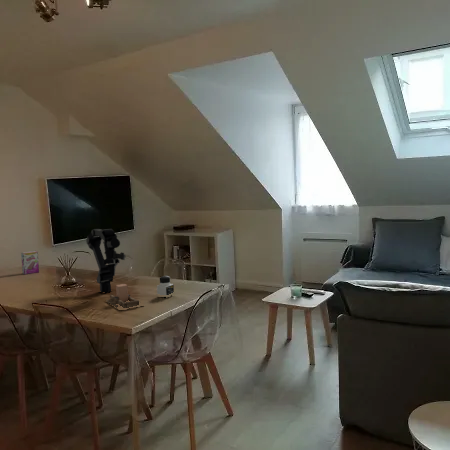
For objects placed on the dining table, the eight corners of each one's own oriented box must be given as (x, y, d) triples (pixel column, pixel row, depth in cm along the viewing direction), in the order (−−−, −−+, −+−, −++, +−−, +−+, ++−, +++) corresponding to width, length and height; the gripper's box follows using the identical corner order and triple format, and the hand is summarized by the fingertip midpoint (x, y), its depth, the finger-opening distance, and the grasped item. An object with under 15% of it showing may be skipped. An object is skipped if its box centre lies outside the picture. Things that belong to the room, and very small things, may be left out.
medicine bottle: (166, 298, 264) (165, 278, 262) (157, 297, 267) (156, 277, 266) (174, 295, 270) (173, 275, 268) (164, 294, 274) (163, 274, 272)
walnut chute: (105, 301, 262) (105, 294, 262) (128, 297, 270) (128, 290, 269) (119, 311, 242) (119, 304, 242) (144, 306, 250) (144, 299, 249)
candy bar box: (24, 274, 345) (22, 253, 343) (22, 273, 349) (20, 252, 347) (39, 272, 352) (37, 251, 350) (37, 271, 356) (35, 250, 354)
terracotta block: (116, 300, 259) (115, 285, 258) (125, 299, 262) (124, 283, 261) (119, 302, 255) (118, 286, 254) (128, 301, 258) (127, 285, 257)
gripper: (120, 247, 263) (124, 273, 262) (126, 248, 282) (130, 273, 281) (100, 250, 263) (104, 277, 262) (108, 251, 282) (111, 276, 280)
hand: (113, 275), depth 271 cm, fingers closed
